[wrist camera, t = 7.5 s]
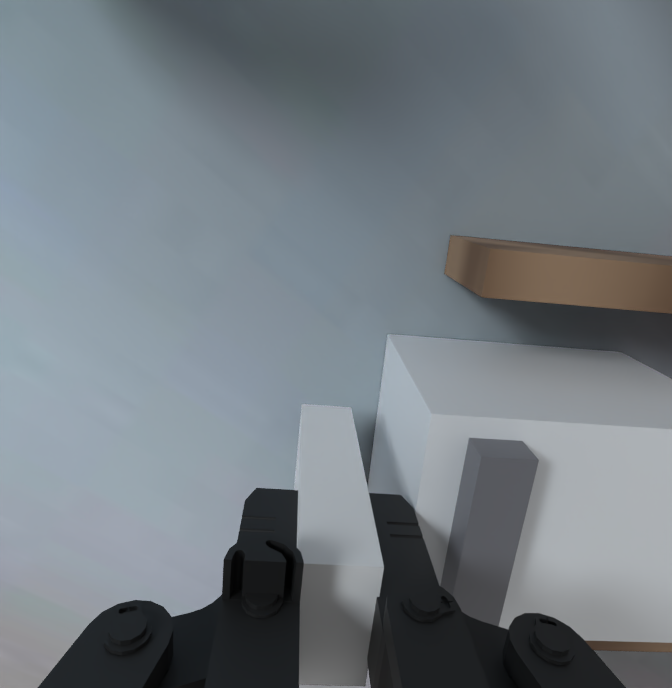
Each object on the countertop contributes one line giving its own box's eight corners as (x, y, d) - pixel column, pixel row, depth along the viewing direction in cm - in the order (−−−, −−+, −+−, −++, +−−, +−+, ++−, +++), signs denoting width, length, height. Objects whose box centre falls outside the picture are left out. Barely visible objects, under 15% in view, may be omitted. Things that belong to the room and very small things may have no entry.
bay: (397, 565, 19) (416, 645, 16) (450, 235, 15) (490, 248, 12) (686, 576, 20) (762, 654, 17) (801, 268, 16) (928, 290, 13)
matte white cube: (366, 492, 18) (400, 665, 12) (387, 333, 16) (441, 431, 10) (578, 503, 19) (722, 671, 12) (620, 351, 17) (815, 454, 10)
